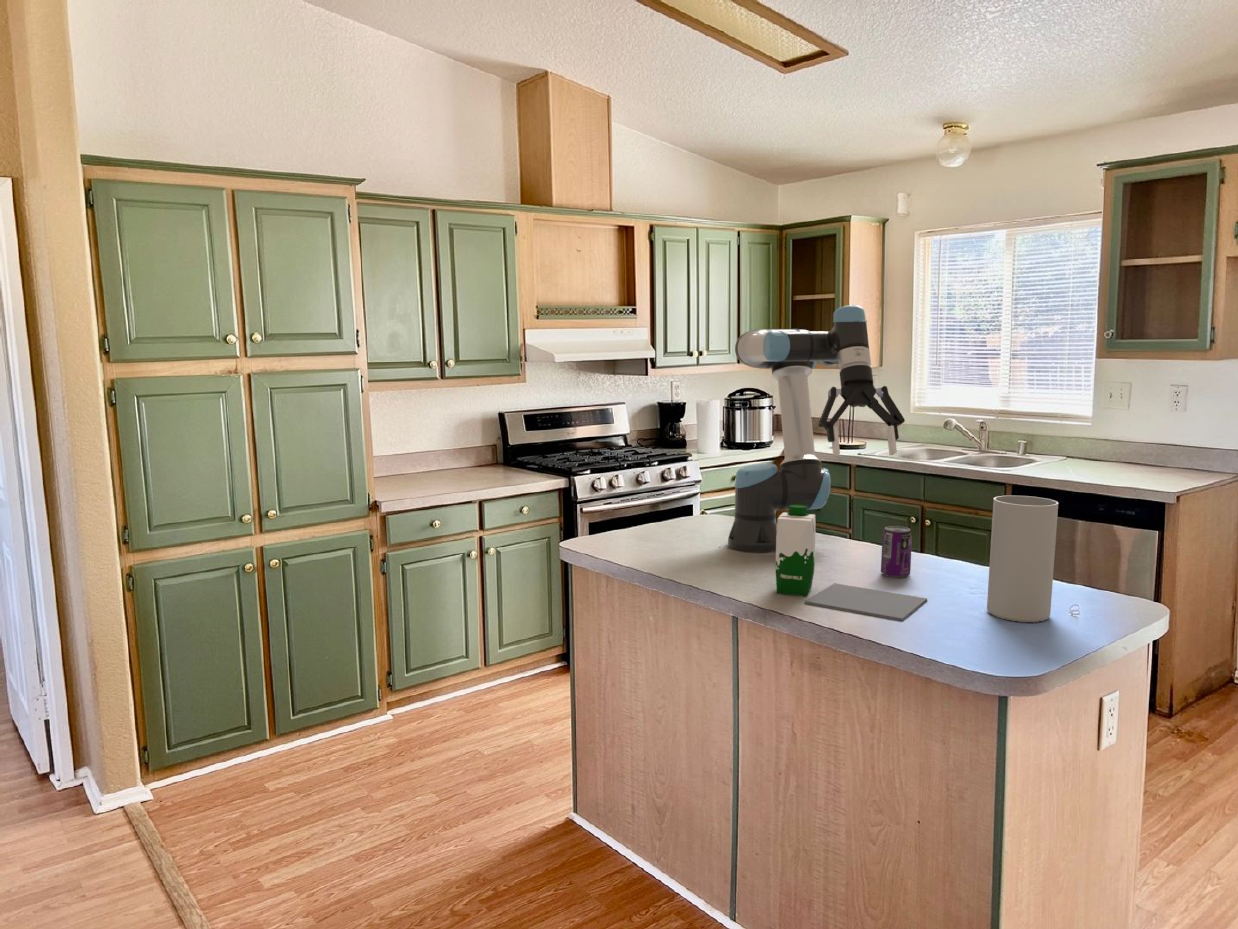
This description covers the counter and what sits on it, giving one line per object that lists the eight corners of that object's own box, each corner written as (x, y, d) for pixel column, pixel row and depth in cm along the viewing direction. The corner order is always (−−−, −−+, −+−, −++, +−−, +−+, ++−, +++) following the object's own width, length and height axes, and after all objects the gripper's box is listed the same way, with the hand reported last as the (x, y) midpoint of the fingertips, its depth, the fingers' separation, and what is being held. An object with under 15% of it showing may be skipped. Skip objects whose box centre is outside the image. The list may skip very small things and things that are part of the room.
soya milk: (815, 588, 213) (818, 505, 210) (810, 598, 205) (813, 512, 202) (778, 584, 216) (781, 503, 213) (771, 594, 208) (774, 509, 205)
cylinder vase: (976, 606, 198) (983, 495, 195) (1030, 605, 199) (1038, 495, 196) (1004, 624, 186) (1012, 506, 183) (1062, 623, 187) (1070, 505, 184)
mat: (804, 603, 200) (804, 600, 200) (834, 585, 215) (834, 583, 215) (902, 621, 188) (902, 618, 188) (927, 601, 203) (927, 598, 203)
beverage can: (911, 579, 220) (914, 532, 219) (881, 578, 222) (884, 531, 220) (908, 572, 227) (910, 526, 226) (879, 571, 229) (881, 525, 227)
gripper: (808, 364, 209) (817, 451, 204) (911, 362, 211) (923, 449, 206) (800, 374, 217) (808, 459, 212) (899, 373, 219) (910, 457, 214)
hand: (865, 454), depth 209 cm, fingers open, 13 cm apart
